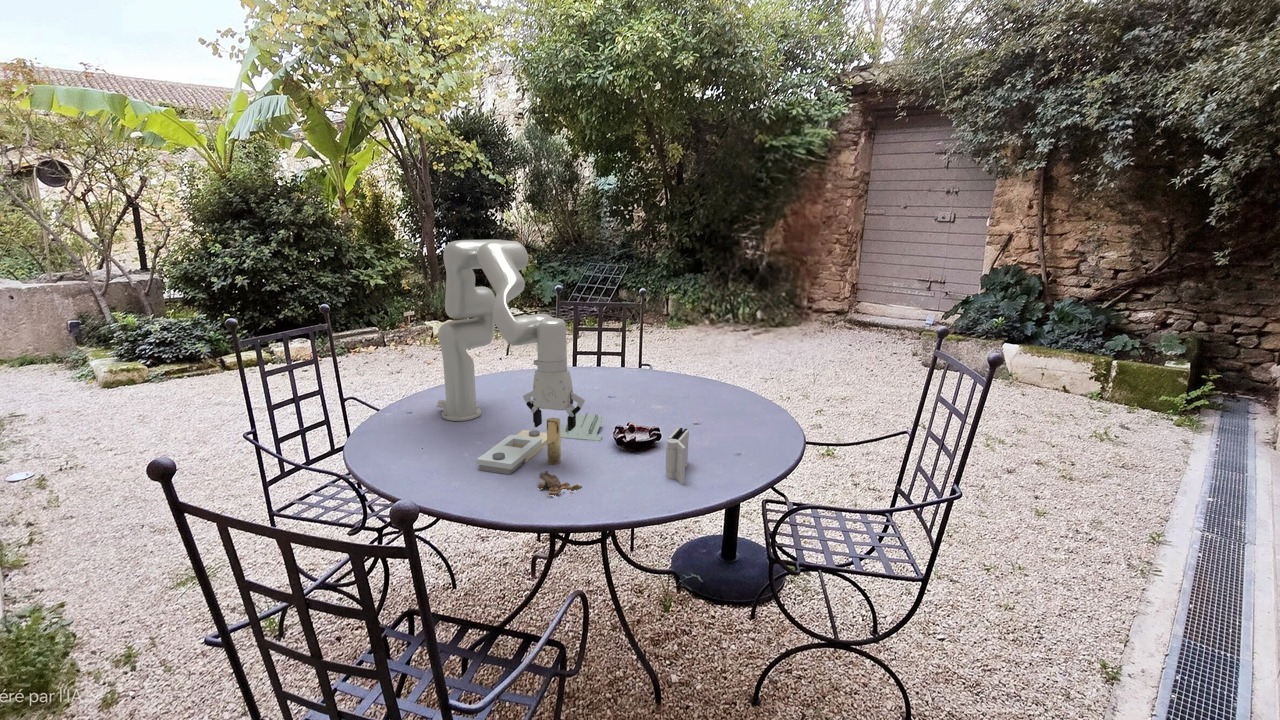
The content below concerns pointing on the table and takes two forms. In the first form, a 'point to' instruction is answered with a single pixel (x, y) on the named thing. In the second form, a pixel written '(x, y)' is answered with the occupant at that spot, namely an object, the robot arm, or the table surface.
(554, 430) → the brass pin
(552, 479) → the frog figurine
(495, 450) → the white peg board
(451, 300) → the robot arm
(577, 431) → the metal bracket
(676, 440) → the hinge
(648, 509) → the table surface
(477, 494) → the table surface
